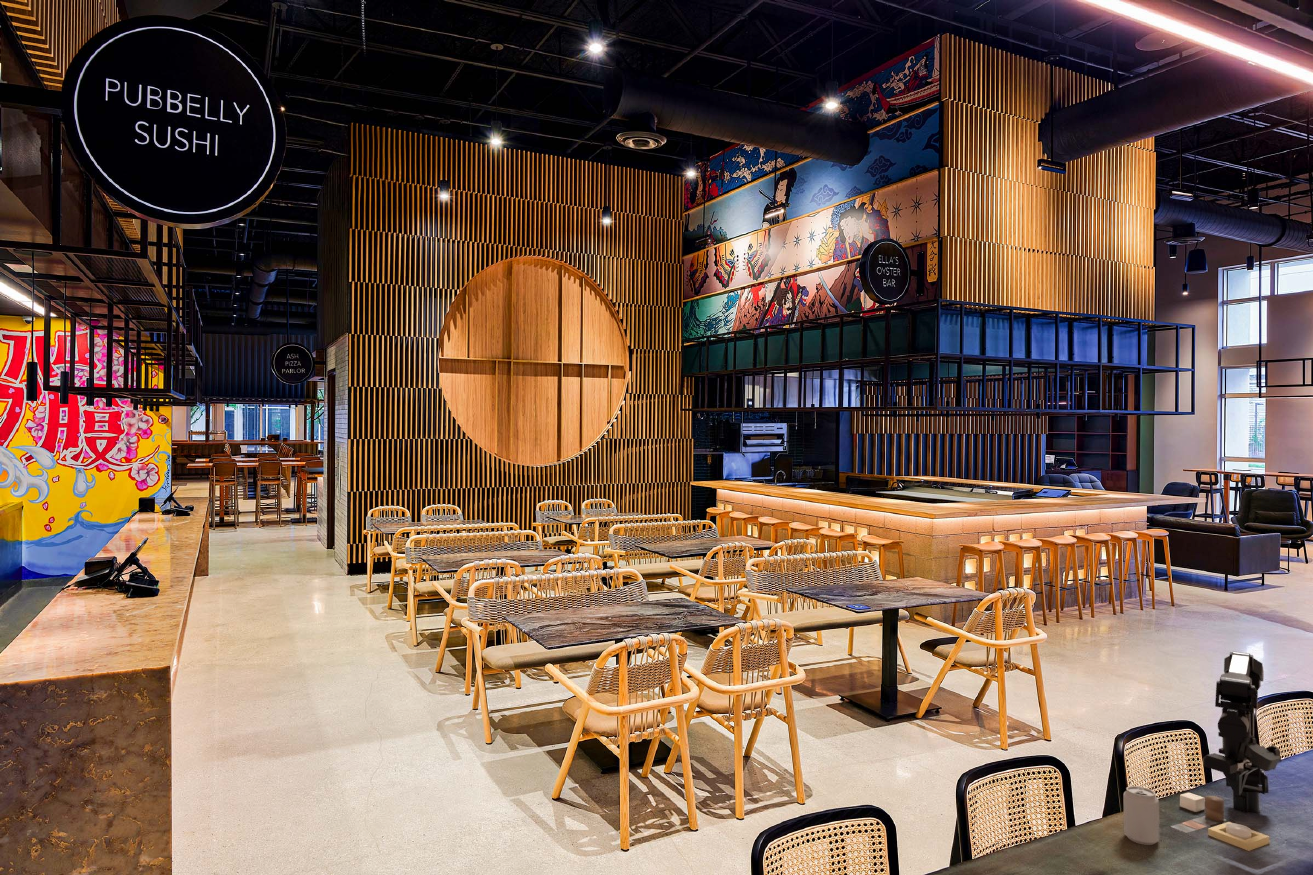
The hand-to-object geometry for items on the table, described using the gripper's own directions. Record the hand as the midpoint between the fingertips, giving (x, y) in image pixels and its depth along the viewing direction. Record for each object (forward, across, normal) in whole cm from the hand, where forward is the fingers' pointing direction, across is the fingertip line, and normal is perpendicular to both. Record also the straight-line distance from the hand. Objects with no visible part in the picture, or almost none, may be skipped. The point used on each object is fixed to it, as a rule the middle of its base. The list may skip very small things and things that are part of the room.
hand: (1237, 794), depth 197 cm
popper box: (+12, 0, 0) cm, 12 cm away
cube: (+12, +9, +16) cm, 22 cm away
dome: (+11, 0, 0) cm, 11 cm away
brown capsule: (+11, +7, +10) cm, 16 cm away
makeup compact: (+12, +1, +10) cm, 15 cm away
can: (+12, -20, +12) cm, 26 cm away
